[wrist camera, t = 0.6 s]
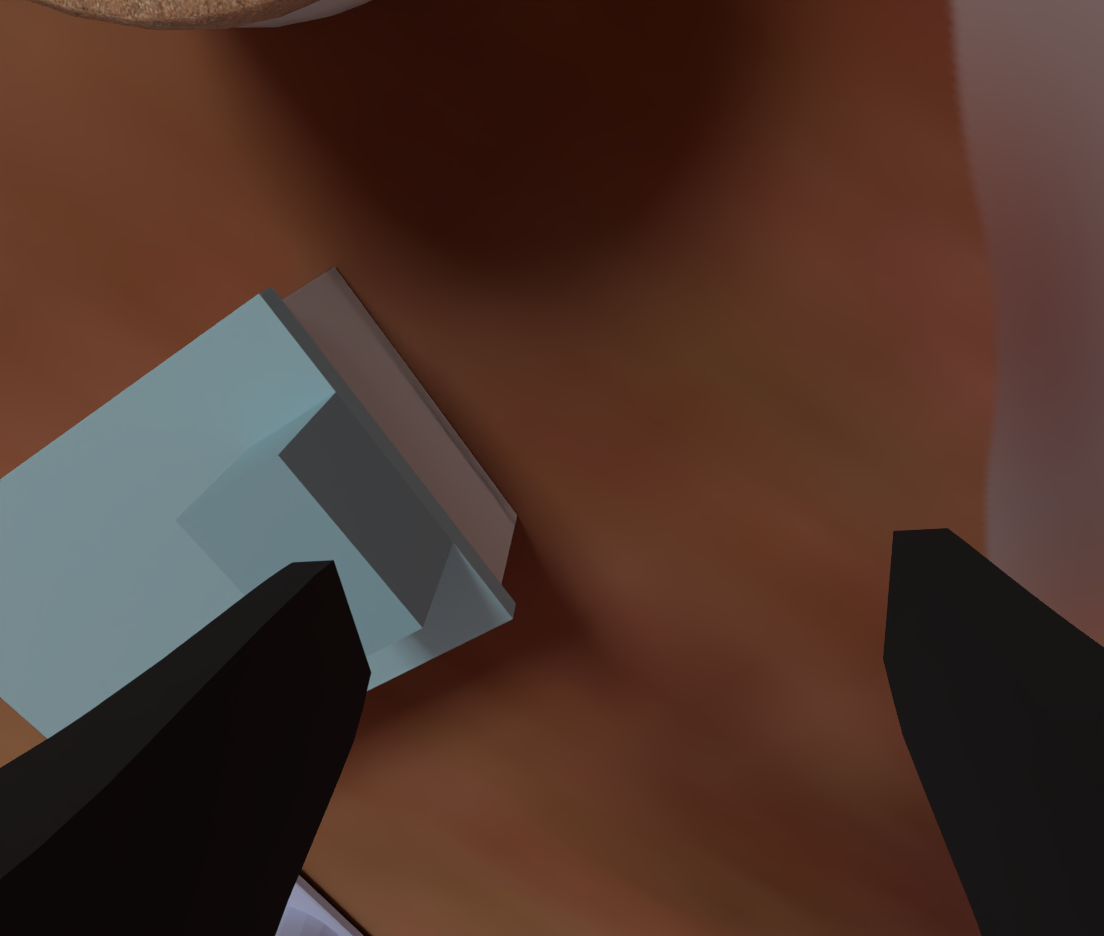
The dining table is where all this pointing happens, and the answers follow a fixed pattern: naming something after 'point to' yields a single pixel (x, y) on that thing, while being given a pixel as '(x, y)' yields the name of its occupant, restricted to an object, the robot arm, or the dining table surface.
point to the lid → (221, 521)
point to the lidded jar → (202, 12)
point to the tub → (405, 414)
